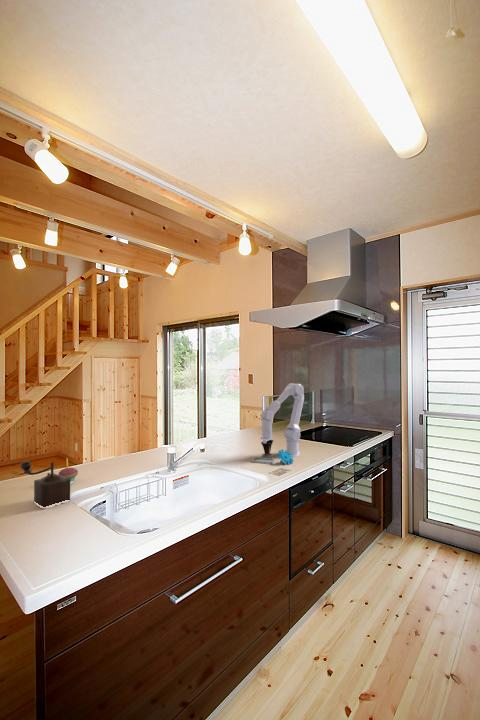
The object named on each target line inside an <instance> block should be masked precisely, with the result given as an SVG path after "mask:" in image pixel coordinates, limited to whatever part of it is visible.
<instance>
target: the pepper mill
mask: <svg viewBox="0 0 480 720" xmlns="http://www.w3.org/2000/svg"><path fill="white" fill-rule="evenodd" d="M31 467H32V462H31V461H30V460H25V461H22V462H21V463H20V469H21V470H23V474H27V475H31V476H34V475H39V474H42V473H45V472H46V471H49V470H50V472H47V475H46V476H43V477H41V478H39V479H35V480H33V481H34V482H33V487H34V488H33V502H34V501H35V502H36V503H38V504H39V505H41V506H43V507H46V506H49V505H52V504H55V503H59V502H62V501H65V500H70V501H71V484H70V479H69V478H67V477H64V476H62V475H60V474H59V473H58V474H56V473H55V472H54V468H55V462H54V461H51V462H50V466H49V467H47V468H44V469H42V470H39V471H36V472H32V471H33V470H32V469H31Z"/></svg>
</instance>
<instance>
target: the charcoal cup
mask: <svg viewBox="0 0 480 720" xmlns="http://www.w3.org/2000/svg"><path fill="white" fill-rule="evenodd" d="M261 458H274V454H273V453H271V452H270V455H269V456H266V455H265V453H262V454H261Z"/></svg>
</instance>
